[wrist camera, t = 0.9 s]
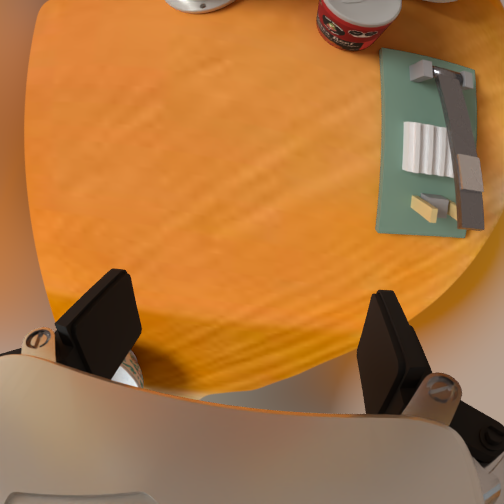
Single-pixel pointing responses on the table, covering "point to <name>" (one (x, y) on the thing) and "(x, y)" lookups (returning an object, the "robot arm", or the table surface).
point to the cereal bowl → (440, 1)
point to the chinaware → (129, 372)
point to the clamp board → (417, 147)
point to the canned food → (355, 21)
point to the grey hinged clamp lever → (461, 150)
